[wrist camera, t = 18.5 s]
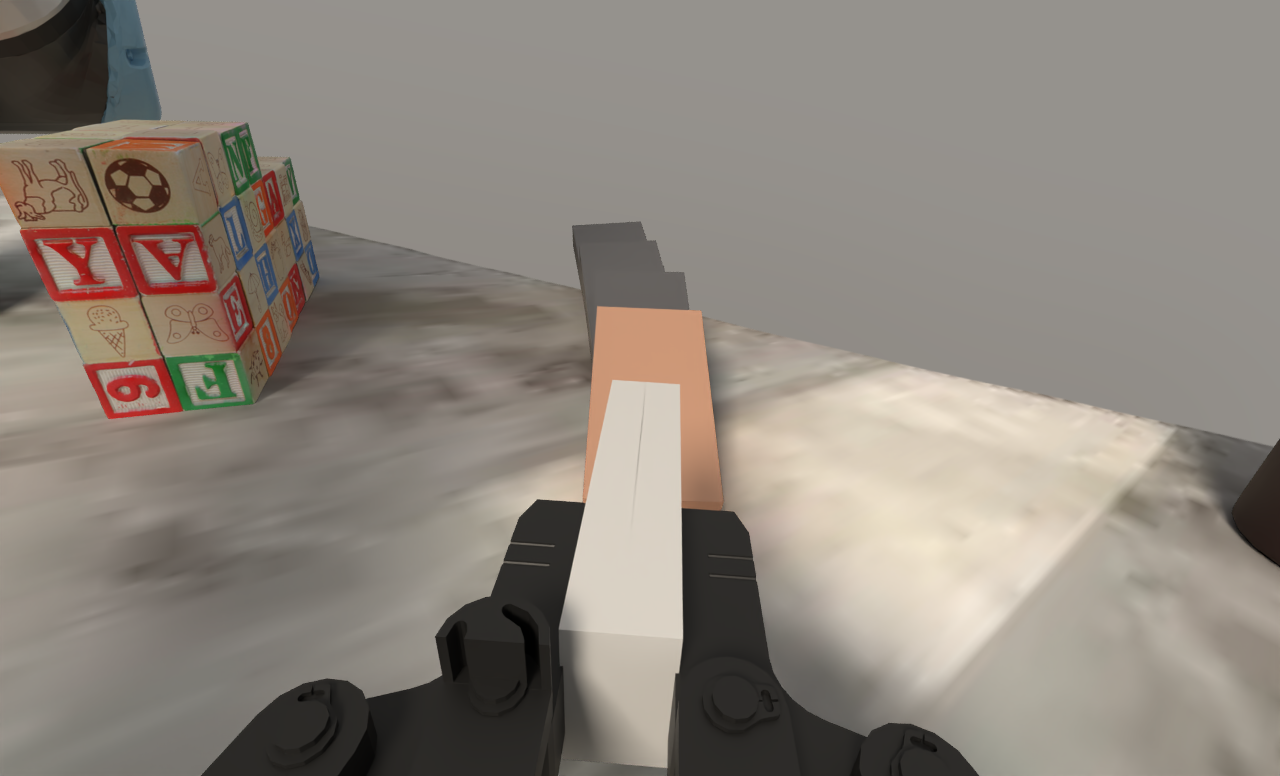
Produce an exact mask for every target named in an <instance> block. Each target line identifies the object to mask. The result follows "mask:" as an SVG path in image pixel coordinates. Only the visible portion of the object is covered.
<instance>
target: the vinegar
mask: <svg viewBox="0 0 1280 776" xmlns="http://www.w3.org/2000/svg"><path fill="white" fill-rule="evenodd" d="M1232 515H1233V518H1234V520H1235V523H1236V525H1237V527H1238V529H1239V530H1240V532H1241V533H1242V534H1243V535H1244V536H1245V537H1246V538H1247V539H1248V540H1249V541H1250V542H1251V543H1252V545H1253V546H1254V547H1255V548H1256V549H1258V550H1259V551H1261V552H1262V553H1263V554H1265V555H1266V556H1267V557H1269V558H1270V559H1271V560H1273V561H1274V562H1275V563H1277V564H1278V565H1280V439H1279V441H1278V442H1277V443H1276V445H1275V446H1274V448H1273V449H1272V451H1271V452H1270V454H1269V455H1268V456H1267V458H1266V459H1265V461H1264V462H1263V464H1262V465H1261V467H1260V468H1259V469H1258V471H1257V472H1256V474H1255V475H1254V477H1253V478H1252V480H1251V481H1250V482H1249V484H1248V485H1247V487H1246V488H1245V490H1244V491H1243V493H1242V494H1241V495H1240V497H1239V498H1238V500H1237V502H1236V503H1235V505H1234V507H1233V510H1232Z"/></svg>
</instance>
